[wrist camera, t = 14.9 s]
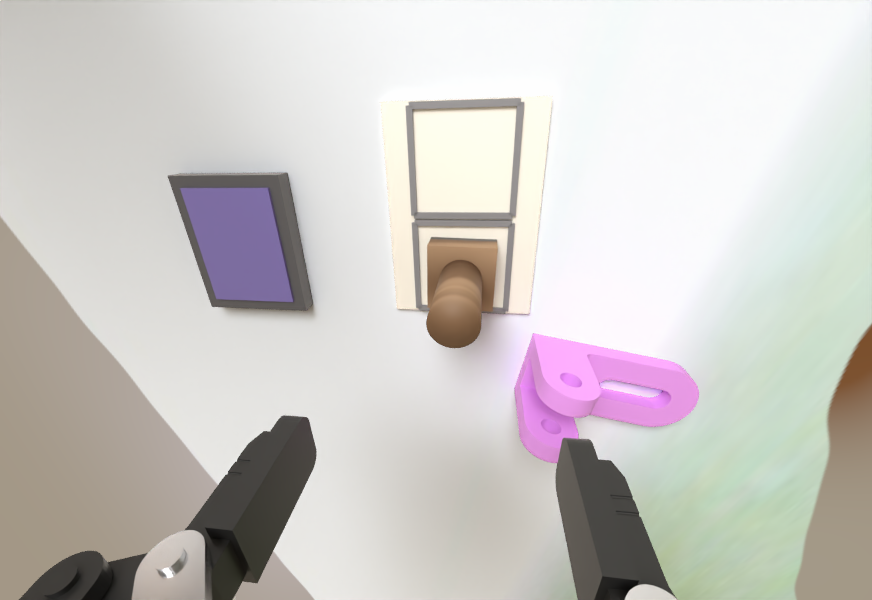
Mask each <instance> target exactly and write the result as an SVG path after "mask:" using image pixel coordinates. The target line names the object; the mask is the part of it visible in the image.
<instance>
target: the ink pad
mask: <svg viewBox="0 0 872 600" xmlns="http://www.w3.org/2000/svg"><path fill="white" fill-rule="evenodd" d="M168 178H169V181H170V184H171V187H172V190H173V193H174V196H175V199H176V202H177V205H178V208H179V211H180V214H181V217H182V220H183V222H184V225H185V228H186V231H187V234H188V237H189V240H190V243H191V246H192V249H193V252H194V255H195V258H196V261H197V264H198V267H199V270H200V273H201V276H202V279H203V282H204V285H205V287H206V290H207V293H208V296H209V299H210V302H211V305H212V307H231V308H255V309H279V310H303V311H306V310H307V309H308V308H309V307H310V306H311V305H312V304H313V302H312V296H311V291H310V286H309V281H308V276H307V271H306V266H305V261H304V256H303V251H302V245H301V240H300V235H299V230H298V225H297V220H296V215H295V210H294V205H293V200H292V195H291V189H290V184H289V179H288V174H287V173H196V174H176V175H169V176H168Z"/></svg>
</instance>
